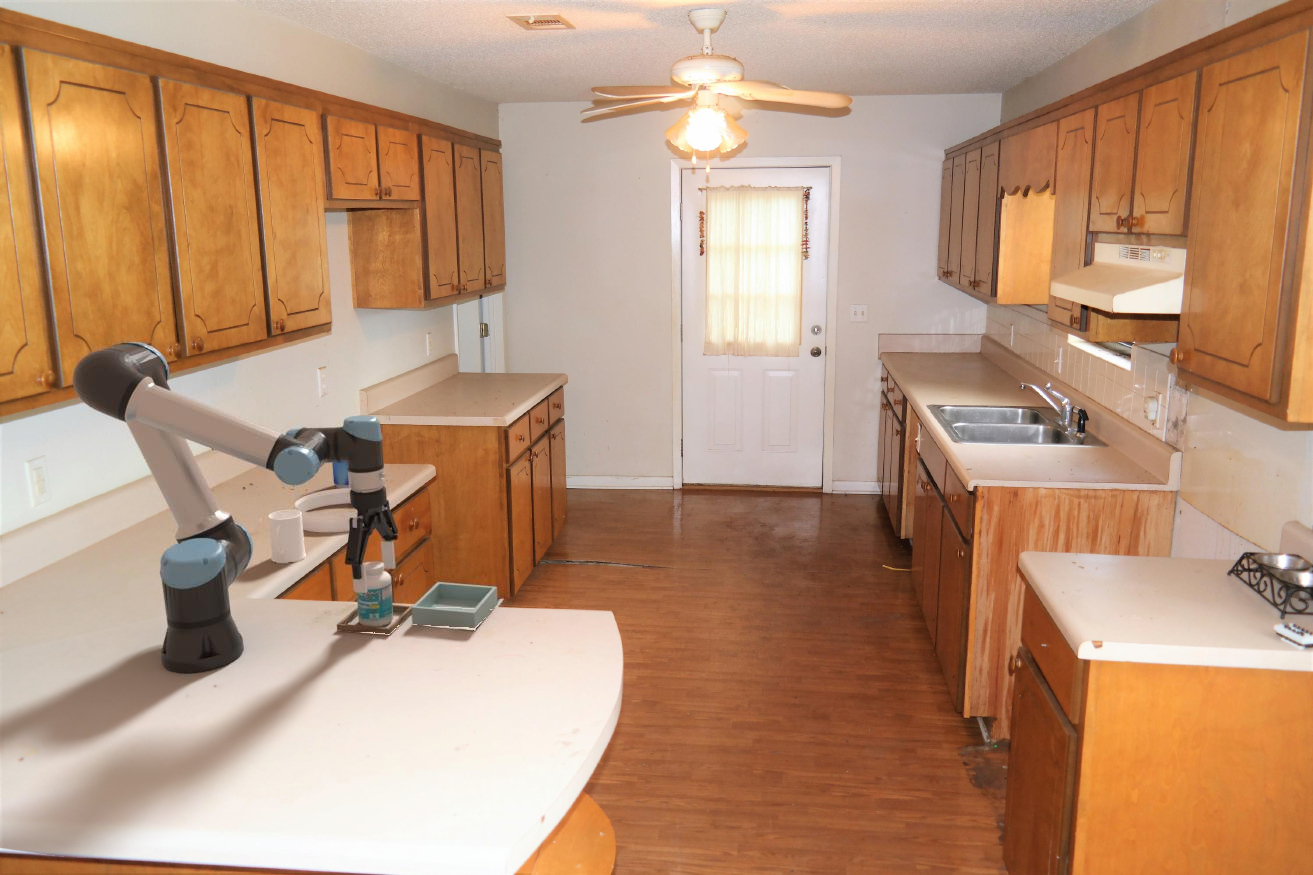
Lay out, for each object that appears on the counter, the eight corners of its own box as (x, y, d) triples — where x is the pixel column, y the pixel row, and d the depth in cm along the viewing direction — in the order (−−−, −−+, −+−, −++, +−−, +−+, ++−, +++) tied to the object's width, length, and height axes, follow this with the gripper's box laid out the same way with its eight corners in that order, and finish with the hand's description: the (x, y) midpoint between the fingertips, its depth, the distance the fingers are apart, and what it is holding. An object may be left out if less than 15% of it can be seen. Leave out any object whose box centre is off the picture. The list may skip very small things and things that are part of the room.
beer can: (329, 488, 303) (325, 441, 300) (341, 481, 311) (338, 435, 308) (353, 490, 302) (349, 442, 298) (365, 482, 310) (362, 436, 306)
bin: (475, 630, 202) (474, 612, 201) (412, 625, 205) (411, 607, 204) (497, 603, 216) (497, 586, 215) (438, 598, 219) (437, 581, 218)
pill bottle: (351, 625, 204) (347, 568, 201) (372, 612, 211) (368, 556, 208) (380, 631, 202) (376, 573, 199) (400, 617, 209) (397, 561, 205)
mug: (291, 569, 236) (287, 524, 233) (259, 567, 236) (254, 523, 233) (311, 552, 247) (308, 509, 244) (280, 551, 248) (276, 508, 245)
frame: (389, 635, 200) (389, 629, 199) (337, 630, 202) (336, 624, 201) (413, 612, 211) (413, 606, 211) (363, 607, 213) (363, 601, 213)
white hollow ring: (335, 539, 258) (333, 521, 256) (273, 521, 272) (272, 504, 270) (408, 514, 280) (407, 496, 279) (347, 498, 294) (346, 482, 293)
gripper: (356, 506, 186) (364, 603, 192) (408, 472, 210) (415, 559, 215) (321, 504, 188) (331, 601, 193) (377, 470, 212) (385, 557, 217)
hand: (375, 579), depth 204 cm, fingers open, 13 cm apart
